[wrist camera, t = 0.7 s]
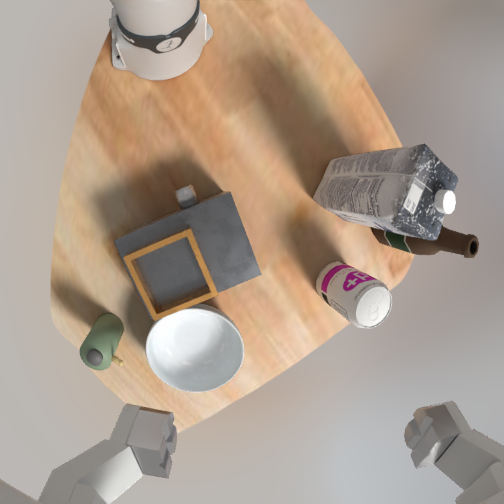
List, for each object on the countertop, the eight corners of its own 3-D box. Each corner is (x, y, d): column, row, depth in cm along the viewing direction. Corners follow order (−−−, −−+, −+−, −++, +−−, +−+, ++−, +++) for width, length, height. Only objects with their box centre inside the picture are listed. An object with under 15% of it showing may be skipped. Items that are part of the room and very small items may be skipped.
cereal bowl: (255, 326, 57) (264, 344, 50) (204, 385, 57) (207, 406, 50) (182, 275, 52) (182, 288, 45) (133, 342, 52) (127, 361, 46)
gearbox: (119, 216, 48) (101, 223, 37) (216, 175, 50) (224, 170, 39) (156, 299, 52) (149, 325, 41) (249, 260, 54) (265, 278, 43)
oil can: (96, 336, 51) (78, 370, 39) (96, 310, 50) (76, 340, 38) (133, 343, 52) (123, 379, 41) (134, 317, 52) (123, 350, 40)
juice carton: (304, 201, 54) (400, 215, 28) (328, 152, 53) (431, 133, 27) (342, 223, 56) (445, 251, 30) (364, 176, 55) (471, 176, 29)
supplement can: (312, 265, 57) (352, 289, 42) (350, 257, 58) (395, 277, 44) (315, 304, 58) (352, 337, 44) (351, 295, 60) (393, 323, 45)
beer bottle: (375, 249, 59) (460, 281, 36) (367, 213, 57) (457, 230, 34) (402, 237, 60) (487, 261, 37) (395, 202, 58) (485, 214, 35)
